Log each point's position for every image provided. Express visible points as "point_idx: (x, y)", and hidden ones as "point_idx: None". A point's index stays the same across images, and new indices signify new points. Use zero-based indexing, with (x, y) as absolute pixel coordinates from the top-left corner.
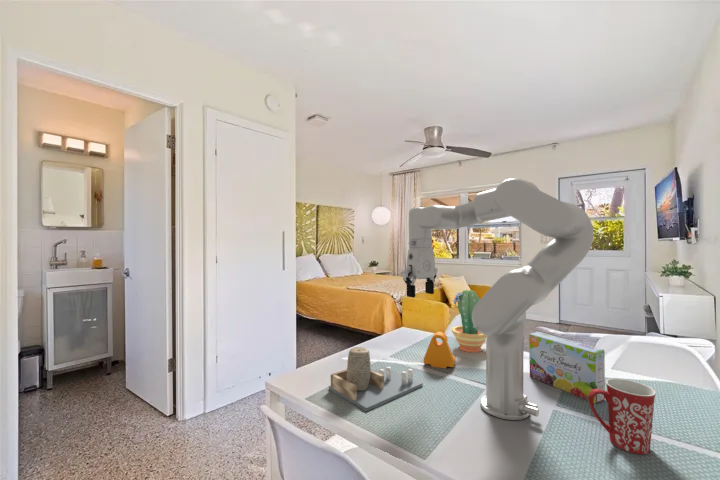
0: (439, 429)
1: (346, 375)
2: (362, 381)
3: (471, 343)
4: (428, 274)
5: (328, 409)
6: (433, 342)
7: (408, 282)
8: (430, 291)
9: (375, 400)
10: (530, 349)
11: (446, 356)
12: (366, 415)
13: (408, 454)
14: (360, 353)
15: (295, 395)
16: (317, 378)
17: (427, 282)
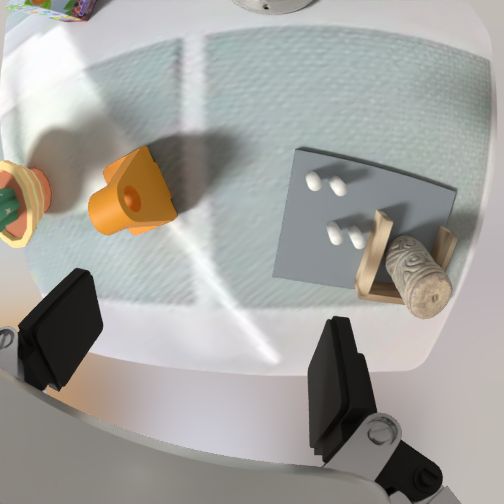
0: (428, 54)
1: (398, 292)
2: (421, 244)
3: (34, 179)
4: (62, 462)
5: (468, 246)
6: (140, 212)
7: (411, 449)
8: (85, 298)
9: (428, 193)
10: (51, 6)
11: (142, 166)
12: (461, 183)
13: (494, 82)
14: (449, 282)
15: (448, 314)
16: (385, 335)
17: (54, 374)
